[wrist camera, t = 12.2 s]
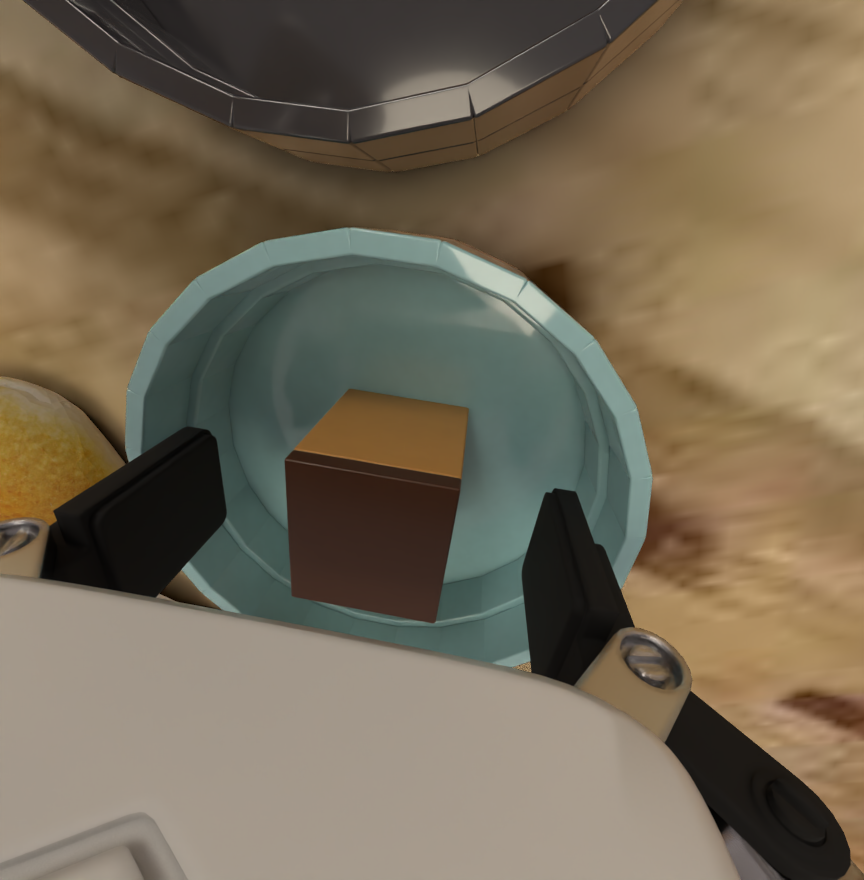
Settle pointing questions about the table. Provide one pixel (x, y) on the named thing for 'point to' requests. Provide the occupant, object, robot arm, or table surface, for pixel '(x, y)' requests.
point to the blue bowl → (405, 375)
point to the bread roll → (46, 451)
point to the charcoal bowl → (366, 66)
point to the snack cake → (376, 503)
